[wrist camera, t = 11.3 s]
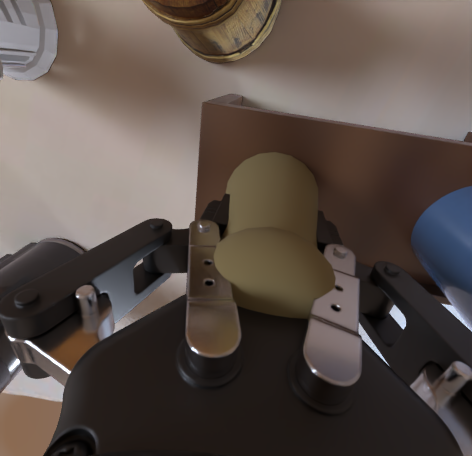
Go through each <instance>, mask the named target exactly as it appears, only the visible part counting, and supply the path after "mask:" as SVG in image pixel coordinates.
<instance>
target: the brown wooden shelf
mask: <svg viewBox="0 0 472 456" xmlns="http://www.w3.org/2000/svg"><path fill="white" fill-rule="evenodd" d="M242 97H243V96H240V95H234V94H228V95H225V96H222V97H218V98H215V99H212V100H209V101H206V102H203V103H202V113H201V129H200V145H199V161H198V177H197V192H196V208H195V220H199V219H200V217H201V216H202V214H203V212H204V210H205V208H206V207H207V205H208V203H209V202H211V201H213V200H218V201H221V200H222V198H223V196H224V194H226V188H227V182H228V180H229V179H230V177H231V175H232V173H233V171H234V170H235V169H236V168H237V167H238V166H239V165H240V164H241V163H242V162H243V161H245V160H246V159H248V158H251V157H253V156H255V155H257V154H260V153H270V152H277V153H282V154H287V155H291V156H292V157H294V158H296V159H297V160H299V161H301V162H302V163H304V164H305V165H306V166H307V168H308V169H309V170H310V171H311V173H312V174H313V175H314V178H315V181H316V183H317V186H318V210H319V211H323V213H324V216H325V219H326V220H327V221H331V222H332V223H333V224H334V225H335V226H336V227H337V230H338V233H339V235H340V236H339V237H340V238H341V240H342V243H343V245H344V246H345V247H347V248H349V249H350V250H352V251H353V252H354V254H355V255H356V261H357V262H359V263H361V264H364V265H366V266H369V267H372V268H373V267H374V265H375V263H376V262H378V261H386V262H390V263H393V264H395V265H397V266H399V267H401V268H402V269H403V270H405V271H406V272H407V273H408V274H409V275H410V276H411V277H412V278H413V279H415V280H416V281H417V282H418V283H419V284H420V285H421V286H422V287H423V288H424V289H425V290H427V291H428V292H429V293H430V294H431V295H432V296H433V297H434V298H435V299H436V300H437V301H439V302H440V303H442V304H447V305H452V304H451V303H450V301H449V300H448V299H447V298H446V296H445V295H444V294H443V292H442V291H441V290H440V288H439V287H438V286H437V284H436V283H435V282H434V281H433V279H432V278H431V277H430V275H429V274H428V273H427V271H426V270H425V269H424V268H423V266H422V265H421V264H420V262H419V261H418V260H417V258H416V257H415V255H414V253H413V251H412V247H411V235H412V231H413V228H414V226H415V224H416V222H417V220H418V219H419V217H420V216H421V215H422V214H423V212H424V211H425V210H426V209H427V208H428V207H429V206H431V205H432V204H433V203H434V202H436V201H437V200H439V199H440V198H442V197H443V196H445V195H447V194H449V193H451V192H453V191H456V190H458V189H462V188H465V187H469V186H472V132H468V134H467V136H466V138H465V140H464V141H457V140H451V139H444V138H438V137H432V136H426V135H420V134H413V133H407V132H401V131H395V130H388V129H382V128H376V127H370V126H364V125H357V124H351V123H345V122H339V121H332V120H326V119H320V118H314V117H308V116H301V115H295V114H289V113H283V112H276V111H270V110H264V109H258V108H252V107H245V106H241V105H242ZM452 306H453V305H452Z"/></svg>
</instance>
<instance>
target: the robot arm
mask: <svg viewBox="0 0 472 456" xmlns="http://www.w3.org/2000/svg"><path fill="white" fill-rule="evenodd" d="M229 204H230V194H224V196H223V198H222V200H221V201H218V200H213V201H211V202H209V203H208V205H207V207H206V208H205V210H204V212H203V214H202V216H201V217H200V219H199V220H195V221H193V222H191V223H190V226H189V229H172V224H171V223H170V222H169V221H167V220H164V219H158V218H156V219H149V220H146V221H144V222H142V223H140V224H138V225H136V226H134V227H132V228H131V229H129V230H127V231H125V232H123V233H121V234H119V235H117V236H115V237H113V238H112V239H110V240H108V241H106V242H104V243H102V244H100V245H98V246H96V247H95V248H93V249H91V250H89V251H87V252H85V251H84V250H82V249H81V248H80V247H78V246H77V245H75V244H73V243H71V242H69V241H66V240H63V239H58V238H48V239H44V240H42V241H40V242H38V243H30V244H28V245H27V246H25V247H24V248H22V249H21V250H19V251H18V252H16V253H15V254H13V255H11V254H7V255H5V256H4V257H2V258H1V259H0V393H1V392H2V391H3V390H4V389H5V388H6V387H7V385H8V384H9V383H10V382H11V381H12V380H13V378H14V377H15V376H16V375H17V374H18V373H19V372H20V371H21V369H22V368H23V371H24V373H25V374H26V375H27V376H28V377H30V378H34V379H41V378H46V377H49V376H52V377H53V378H54V379H56V380H57V381H58V382H60V383H61V384H62V385H64V386H65V388H64V393H63V402H62V410H61V414H60V418H59V422H58V425H57V428H56V431H55V433H54V435H53V438H52V441H51V443H50V445H49V447H48V448H47V450H46V452H45V453H44V455H43V456H472V332H471V331H470V330H469V329H468V328H467V327H466V326H465V325H464V324H463V323H461V322H460V321H459V320H458V319H457V318H456V317H455V316H454V315H453V314H452V313H451V312H449V311H448V310H447V309H446V308H445V307H444V306H443V305H442V304H441V303H440V302H439V301H437V300H436V299H435V298H434V297H433V296H432V295H431V294H430V293H429V292H428V291H427V290H425V289H424V288H423V287H422V286H421V285H420V284H419V283H418V282H417V281H416V280H415V279H413V278H412V277H411V276H410V275H409V274H408V273H407V272H406V271H405V270H403V269H402V268H401V267H399V266H397V265H395V264H393V263H390V262H386V261H378V262H376V263H375V265H374V267H373V268H372V267H369V266H366V265H364V264H361V263H359V262H357V261H356V255H355V254H354V252H353V251H352V250H350V249H349V248H347V247H345V246H344V245H343V243H342V240H341V238H340V237H339V236H340V235H339V233H338V230H337V227H336V226H335V225H334V224H333V223H332V222H331V221H327V220H326V219H325V216H324V213H323V211H319V210H318V216H317V231H316V238H317V249H318V250H319V251H320V252H321V253H322V254H323V256H324V257H325V258H326V259H327V260H328V262H329V263H330V264H331V265H332V268H333V271H334V274H335V278H336V280H335V287H336V289H337V290H336V289H335V288H334V289H333V290H332V291H330V292H328V293H327V294H325V295H324V296H322V297H321V298H314V300H313V303H312V306H311V309H310V311H309V314H308V317H307V319H301V318H289V317H282V316H276V315H270V314H265V313H261V312H257V311H253V310H249V309H246V308H243V307H240V306H237V304H236V301H235V300H234V299H233V294H232V288H231V282H230V281H229V280H227V279H225V278H224V277H223V276H222V275H221V274H220V272H219V271H218V269H217V268H216V267H215V262H214V252H215V250H216V247H217V246H215V245H216V244H218V243H219V242H220V241H221V236H222V234H223V232H224V231H225V229H226V227H227V224H228V220H229ZM142 258H143V262H142V263H141V264H140V265H138V266H137V267H135V268H134V266H135V265H136V263H137V262H138V261H139V260H141V259H142ZM210 264H211V265H210ZM171 273H187V283H186V294H185V295H183V296H181V297H179V298H178V299H176V300H174V301H172V302H170V303H168V304H167V305H165V306H163V307H161V308H159V309H158V310H156V311H154V312H152V313H150V314H148V315H147V316H145V317H143V318H141V319H139V320H137V321H136V322H134V323H132V324H130V325H128V326H127V327H125V328H123V329H121V330H119V331H117V332H116V333H114V334H113V332H114V329H115V323H117V322H118V321H119V320H120V319H121V318H122V317H124V316H125V315H126V314H127V313H128V312H129V311H131V310H132V309H133V308H134V307H135V306H136V305H138V304H139V303H140V302H141V301H142V300H143V299H145V298H146V297H147V296H148V295H149V294H151V293H152V292H153V291H154V290H155V289H156V288H158V287H159V286H160V285H161V284H162V283H163V282H165V281H166V280H167V279H168V278H169V277H170V276H171ZM394 304H395V305H396V306H397V308H398V309H399V310H400V311H401V312H402V313H403V314H404V316H405V318H406V327H405V328H404V330H403V329H402V328H401V327H400V326H399V324H398V323H397V322H396V321H395V320H394V318H393V317H392V316H391V315H390V314H389V312H390V310H391V309H392V307H393V305H394ZM359 323H360V324H361V326H362V327H363V329H364V330H365V331H366V333H367V334H368V336H369V337H370V339H371V340H372V341H373V343H374V344H375V346H376V347H377V349H378V350H379V351H380V353H381V354H382V356H383V357H384V359H385V360H386V362H387V363H388V364H389V366H390V367H391V368H390V367H389V366H388V365H387V364H386V363H385V362H384V361H383V360H382V359H381V358H380V357H379V356H378V355H377V354H376V353H375V352H374V351H373V350H372V349H371V348H370V347H369V346H368V345H367V344H366V343H365V342H364V341H363V340H362V337H361V335H359V332H358V327H359Z"/></svg>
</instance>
